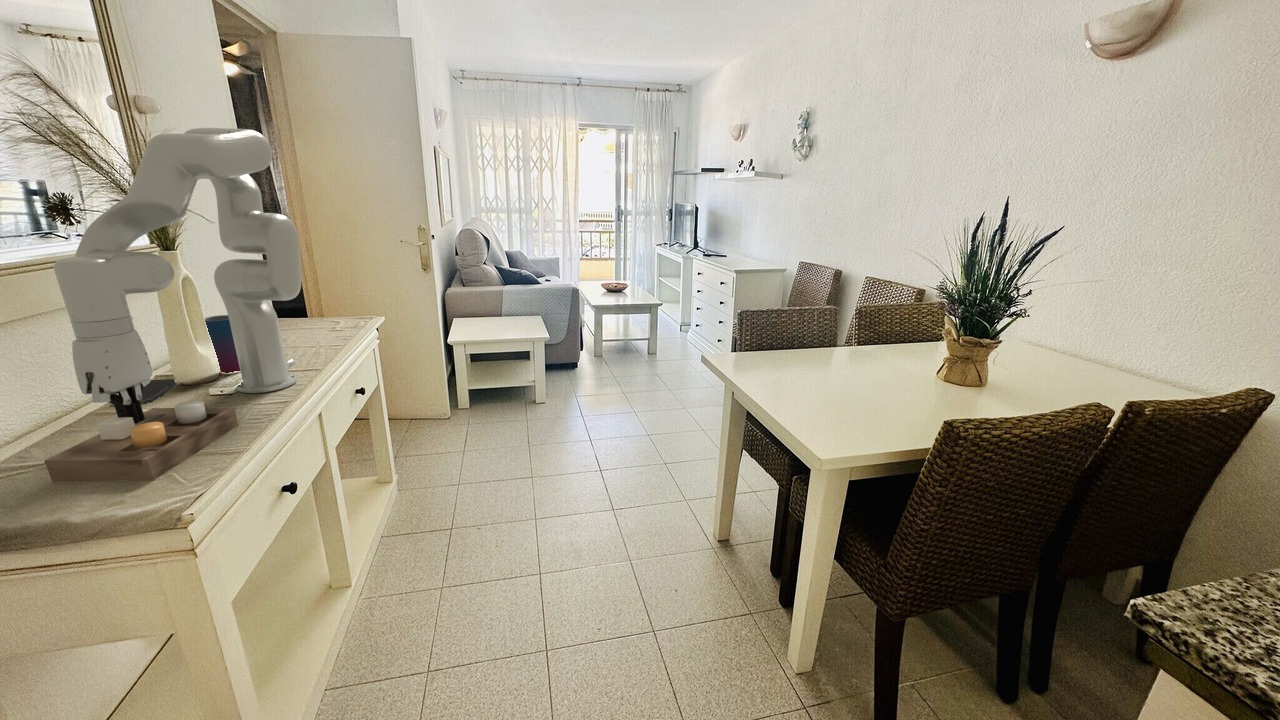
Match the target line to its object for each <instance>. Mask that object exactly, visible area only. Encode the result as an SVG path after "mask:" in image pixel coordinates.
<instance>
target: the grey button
mask: <svg viewBox="0 0 1280 720" xmlns="http://www.w3.org/2000/svg"><path fill="white" fill-rule="evenodd" d="M173 408H174V409H175V413H176V417H177V420H178V423H181V424H187V423H194V422H198V421H201V420H203V419H205V418H206V417H207V415H206V411H205V408H206V406H205V403H204V401H203V400H190V401H184V402H181V403H178V404H176V405H174V407H173Z"/></svg>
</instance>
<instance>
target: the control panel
mask: <svg viewBox="0 0 1280 720" xmlns="http://www.w3.org/2000/svg"><path fill="white" fill-rule="evenodd" d="M205 411H206V415H207V417H206V418H205V419H203V420H201V421H198V422H194V423H187V424H181V423H178V420H177V417H176V413H175V409H174V407H152V408H149V409H147V410H146V411H143V414H144V417H145V420H143V421H140V422H139V423H137V424H135V426H137V425H140V424H144V423H149V422H162V423H163V425H164V429H165V432H166V436H167V440H166V441H165V442H163V443H161V444H159V445H156V446H152V447H147V448H136V447H134V444H133V441H132V438H131V435H130V436H128V437H126V438H125V439H106V440H101V437H100V434H96V435H94V436H92V437H90V438H88V439H86V440H84V441H82V442H80V443H78V444H76V445H74V446H72V447H70V448H68V449H65V450H63V451H61V452H59V453H57V454H55V455H53V456H51V457H49V458H47V459H45V460H44V464H45V466H46V469H47V471H48V474H49V477H50V480H51V482H52V483H56V482H59V483H60V482H61V483H62V482H115V481H116V482H117V481H119V482H121V481H123V482H125V481H128V482H129V481H154V480H157V479H158V478H159V477H161V476H162V475H164V474H165V473H167V472H169V471H170V470H172V469H173V468H175V467H177V466H178V465H179V464H181V463H183V462H184V461H185V460H188V459H189V458H191V457H192V456H193V455H195V454H197V453H198V452H199V451H201V450H203V449H204V448H206V447H207V446H208V445H209V446H210V445H211V444H212V443H213V442H215V441H216V440H218V439H219V438H221V437H223V436H224V435H225V434H227V433H229V432H230V431H232V430H233V429H235V428H236V427H238V426H239V421H238V417H237V413H236V408H235V407H205Z"/></svg>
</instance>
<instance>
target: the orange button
mask: <svg viewBox="0 0 1280 720" xmlns="http://www.w3.org/2000/svg"><path fill="white" fill-rule="evenodd" d="M129 431H130V434H131V438H132V441H133V444H134V447H136V448H147V447H152V446H156V445H159V444H161V443H163V442H165V441H166V440H167V436H166V432H165V429H164V425H163V423H162V422H149V423H144V424H140V425H137V426H134V427H132V428H131V429H130V430H129Z"/></svg>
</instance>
